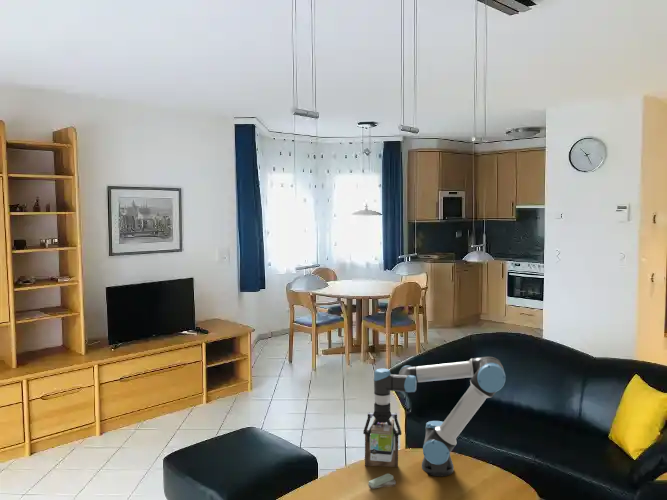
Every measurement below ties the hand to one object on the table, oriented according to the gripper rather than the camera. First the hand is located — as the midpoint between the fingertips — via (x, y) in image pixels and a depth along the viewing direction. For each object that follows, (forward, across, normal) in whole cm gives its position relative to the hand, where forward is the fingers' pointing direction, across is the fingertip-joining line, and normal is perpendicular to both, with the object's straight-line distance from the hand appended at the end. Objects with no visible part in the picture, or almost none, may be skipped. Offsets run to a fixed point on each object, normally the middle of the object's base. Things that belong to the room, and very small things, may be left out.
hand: (382, 448), depth 259 cm
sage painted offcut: (+11, +1, +10) cm, 15 cm away
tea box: (+3, 0, 0) cm, 3 cm away
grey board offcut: (+13, 0, +10) cm, 16 cm away
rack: (+13, 0, -10) cm, 16 cm away
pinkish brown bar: (+14, +1, +10) cm, 17 cm away
